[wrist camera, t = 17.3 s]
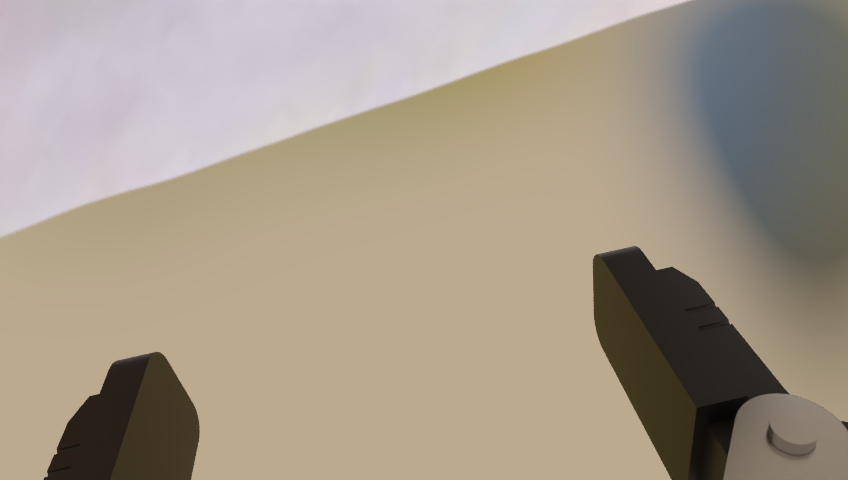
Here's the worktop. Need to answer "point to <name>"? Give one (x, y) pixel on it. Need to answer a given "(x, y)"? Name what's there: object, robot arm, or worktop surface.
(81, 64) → the worktop surface
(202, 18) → the worktop surface
